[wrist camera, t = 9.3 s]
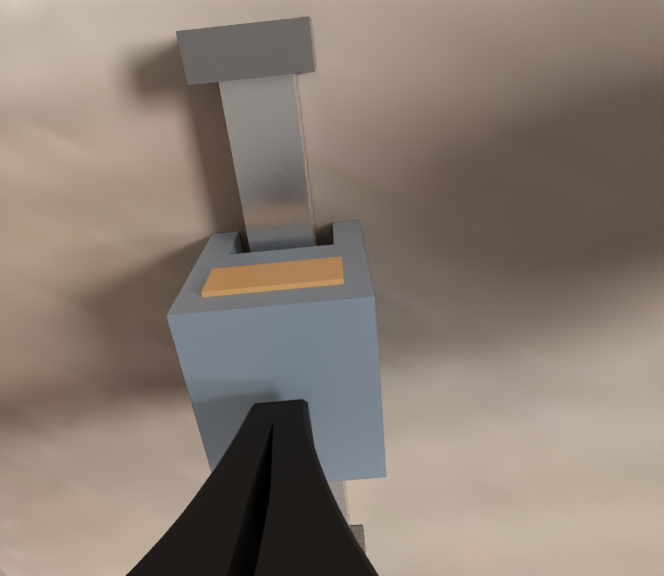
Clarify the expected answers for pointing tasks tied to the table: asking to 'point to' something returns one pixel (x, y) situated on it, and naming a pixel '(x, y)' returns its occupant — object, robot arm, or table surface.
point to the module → (285, 345)
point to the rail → (264, 133)
